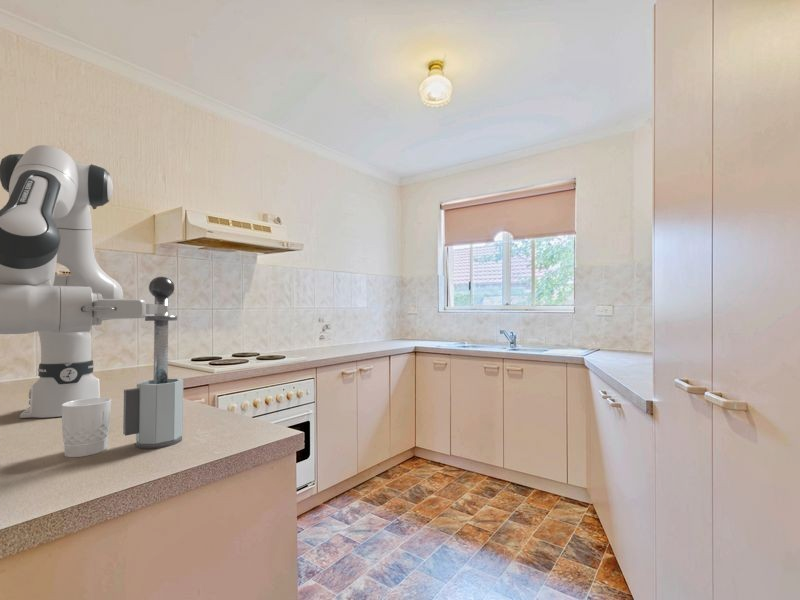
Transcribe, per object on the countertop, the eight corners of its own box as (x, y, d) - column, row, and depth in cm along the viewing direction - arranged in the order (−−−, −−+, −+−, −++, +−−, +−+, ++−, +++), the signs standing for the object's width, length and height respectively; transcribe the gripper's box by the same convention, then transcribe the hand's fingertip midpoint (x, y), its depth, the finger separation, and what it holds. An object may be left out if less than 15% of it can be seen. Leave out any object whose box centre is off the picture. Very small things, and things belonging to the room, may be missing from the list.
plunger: (140, 395, 85) (142, 276, 86) (172, 391, 89) (173, 278, 90) (147, 399, 80) (149, 274, 81) (179, 395, 85) (181, 276, 86)
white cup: (119, 444, 83) (120, 397, 83) (91, 458, 75) (92, 406, 75) (81, 445, 83) (82, 397, 83) (49, 459, 75) (50, 406, 75)
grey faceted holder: (120, 444, 83) (121, 383, 83) (175, 433, 90) (176, 377, 91) (128, 454, 77) (129, 388, 77) (187, 442, 84) (187, 381, 85)
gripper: (86, 290, 68) (174, 293, 78) (73, 294, 83) (149, 296, 92) (85, 326, 68) (174, 324, 78) (73, 324, 83) (149, 323, 92)
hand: (160, 309), depth 85 cm, fingers open, 8 cm apart
